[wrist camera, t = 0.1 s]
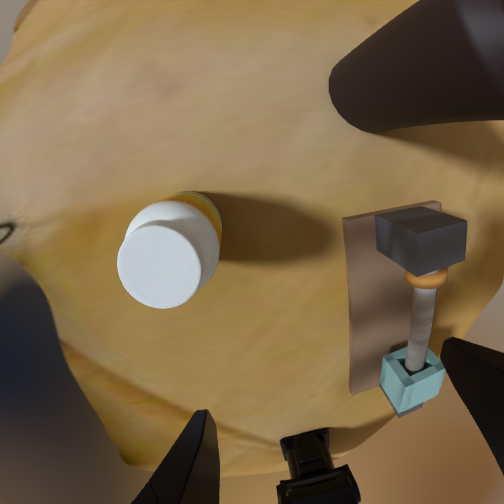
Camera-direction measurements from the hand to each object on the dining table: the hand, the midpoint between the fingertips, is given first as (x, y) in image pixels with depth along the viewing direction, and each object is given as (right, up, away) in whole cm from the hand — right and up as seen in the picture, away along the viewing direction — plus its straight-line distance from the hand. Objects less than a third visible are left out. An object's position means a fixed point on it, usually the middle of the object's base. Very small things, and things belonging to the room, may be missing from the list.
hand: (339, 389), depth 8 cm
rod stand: (+11, -1, +16) cm, 20 cm away
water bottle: (+6, +18, +10) cm, 21 cm away
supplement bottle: (-8, +7, +13) cm, 16 cm away
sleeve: (+12, -7, +16) cm, 21 cm away
